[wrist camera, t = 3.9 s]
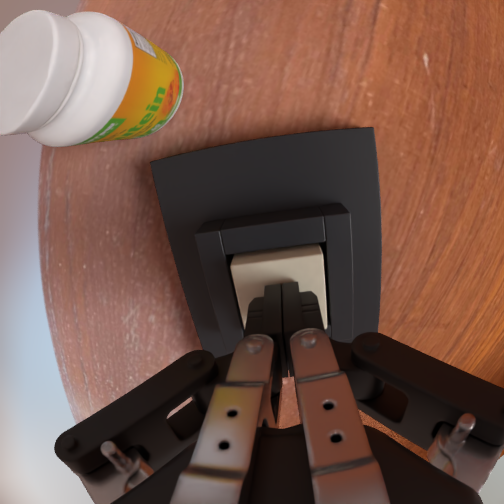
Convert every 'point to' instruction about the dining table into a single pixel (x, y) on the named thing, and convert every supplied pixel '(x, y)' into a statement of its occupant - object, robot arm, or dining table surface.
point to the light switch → (275, 223)
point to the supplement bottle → (83, 80)
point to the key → (279, 273)
